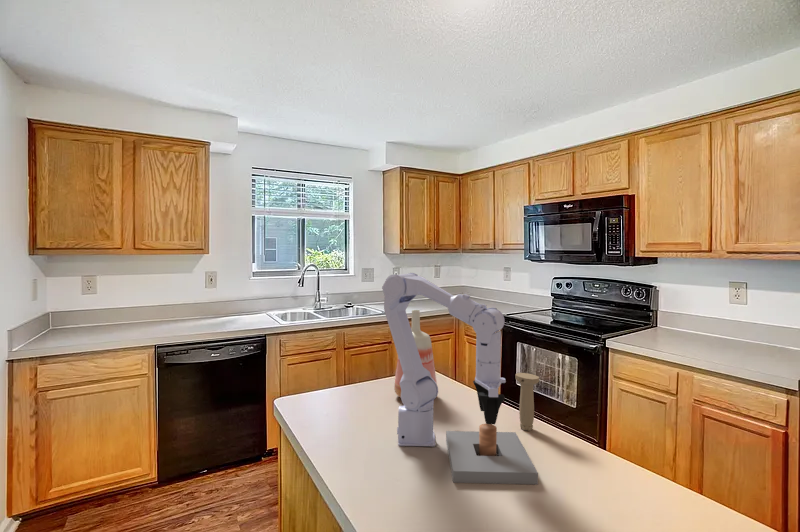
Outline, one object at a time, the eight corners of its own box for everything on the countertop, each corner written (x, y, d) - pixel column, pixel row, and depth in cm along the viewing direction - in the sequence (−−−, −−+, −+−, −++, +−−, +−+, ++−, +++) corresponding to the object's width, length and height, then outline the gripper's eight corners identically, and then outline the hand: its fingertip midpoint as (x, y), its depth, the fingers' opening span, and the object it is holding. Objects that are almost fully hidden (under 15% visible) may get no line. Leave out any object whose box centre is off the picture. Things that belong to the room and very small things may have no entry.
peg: (480, 464, 98) (480, 430, 97) (477, 456, 102) (478, 423, 101) (497, 464, 98) (498, 430, 97) (494, 456, 102) (494, 423, 101)
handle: (532, 435, 113) (533, 380, 113) (511, 427, 118) (512, 375, 117) (541, 430, 116) (542, 376, 116) (520, 423, 121) (521, 371, 121)
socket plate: (453, 482, 90) (453, 471, 90) (446, 440, 110) (446, 431, 110) (537, 484, 89) (537, 472, 89) (515, 441, 109) (515, 432, 109)
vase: (390, 391, 147) (390, 308, 146) (429, 388, 151) (429, 307, 150) (399, 406, 133) (400, 314, 132) (442, 403, 137) (443, 312, 136)
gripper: (512, 369, 91) (511, 430, 92) (499, 352, 106) (498, 405, 106) (480, 368, 92) (479, 429, 92) (471, 352, 106) (470, 405, 107)
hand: (487, 416), depth 99 cm, fingers open, 7 cm apart
